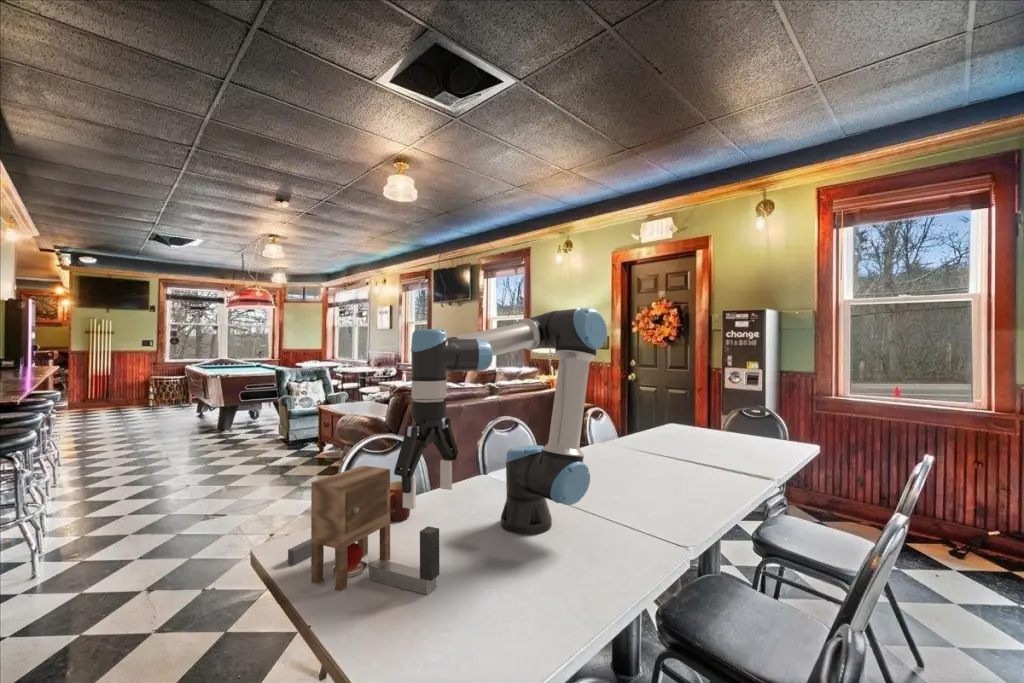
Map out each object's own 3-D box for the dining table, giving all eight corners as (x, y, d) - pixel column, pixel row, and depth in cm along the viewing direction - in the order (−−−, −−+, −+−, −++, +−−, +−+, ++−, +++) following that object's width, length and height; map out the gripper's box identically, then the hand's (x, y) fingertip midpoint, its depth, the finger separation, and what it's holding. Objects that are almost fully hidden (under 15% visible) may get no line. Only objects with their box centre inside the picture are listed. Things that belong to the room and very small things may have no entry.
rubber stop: (320, 551, 116) (320, 538, 116) (293, 565, 109) (293, 551, 109) (314, 550, 117) (314, 537, 117) (288, 563, 109) (288, 549, 109)
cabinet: (394, 560, 111) (393, 469, 111) (345, 592, 96) (345, 488, 97) (362, 552, 115) (362, 465, 115) (311, 582, 101) (311, 482, 101)
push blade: (440, 587, 98) (439, 528, 98) (430, 595, 95) (430, 534, 95) (379, 571, 105) (379, 516, 105) (368, 579, 102) (368, 521, 102)
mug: (391, 512, 144) (391, 480, 144) (416, 514, 142) (416, 481, 142) (372, 527, 132) (372, 492, 132) (400, 529, 130) (400, 493, 130)
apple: (346, 582, 101) (346, 553, 101) (324, 573, 105) (324, 545, 105) (374, 567, 108) (374, 540, 108) (353, 559, 112) (353, 533, 112)
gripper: (446, 394, 110) (445, 480, 110) (375, 405, 88) (375, 514, 87) (472, 395, 107) (472, 484, 107) (406, 407, 84) (406, 520, 84)
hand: (428, 497), depth 97 cm, fingers open, 13 cm apart
